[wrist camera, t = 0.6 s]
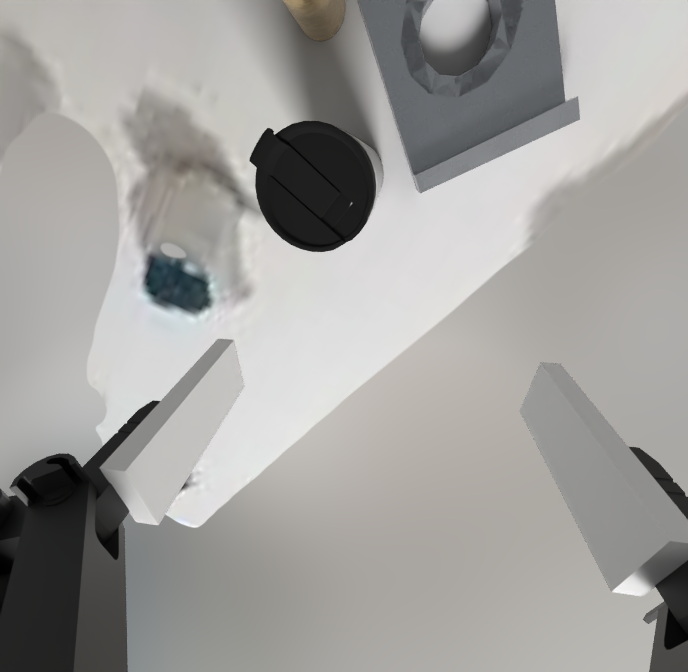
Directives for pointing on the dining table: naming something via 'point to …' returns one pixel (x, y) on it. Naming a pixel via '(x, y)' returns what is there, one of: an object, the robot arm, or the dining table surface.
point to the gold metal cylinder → (318, 16)
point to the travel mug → (316, 184)
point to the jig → (470, 87)
